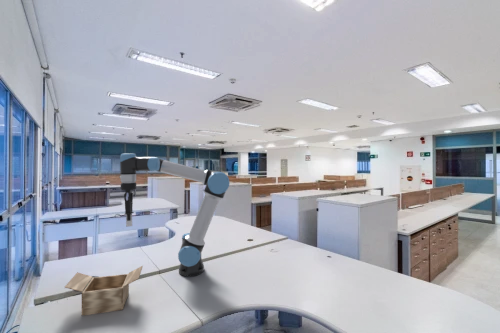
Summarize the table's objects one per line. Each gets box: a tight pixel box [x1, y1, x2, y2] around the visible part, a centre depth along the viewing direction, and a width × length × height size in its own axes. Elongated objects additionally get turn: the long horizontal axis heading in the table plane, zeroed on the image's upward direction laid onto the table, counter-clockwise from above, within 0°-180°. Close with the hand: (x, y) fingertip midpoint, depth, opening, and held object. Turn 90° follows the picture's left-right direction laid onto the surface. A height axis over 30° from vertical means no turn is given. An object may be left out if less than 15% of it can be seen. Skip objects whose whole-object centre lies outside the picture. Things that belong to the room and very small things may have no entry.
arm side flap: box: [123, 265, 144, 287], centre depth 115 cm, size 1×14×7 cm
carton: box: [81, 273, 130, 317], centre depth 112 cm, size 16×15×10 cm
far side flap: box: [64, 272, 93, 293], centre depth 108 cm, size 1×14×7 cm
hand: (129, 226), depth 128 cm, fingers closed
